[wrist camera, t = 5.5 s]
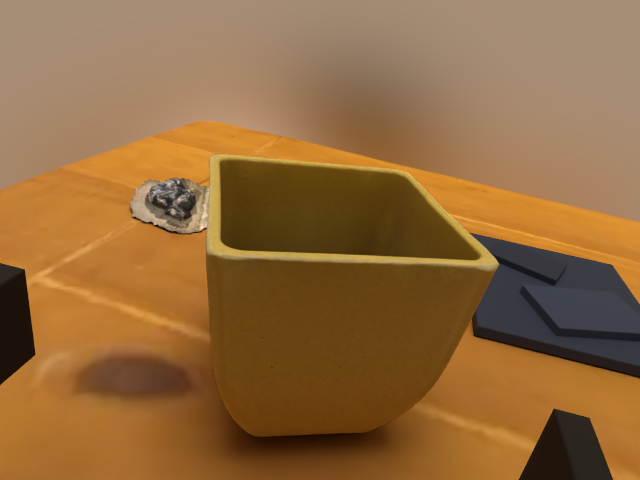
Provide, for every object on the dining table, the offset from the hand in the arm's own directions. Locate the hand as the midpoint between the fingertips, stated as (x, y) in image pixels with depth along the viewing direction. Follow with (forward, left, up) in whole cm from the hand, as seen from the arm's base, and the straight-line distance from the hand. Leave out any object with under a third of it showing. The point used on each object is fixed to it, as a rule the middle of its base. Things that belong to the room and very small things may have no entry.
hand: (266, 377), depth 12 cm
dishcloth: (-14, -21, -7) cm, 26 cm away
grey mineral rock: (+13, -21, -7) cm, 26 cm away
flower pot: (0, -7, -7) cm, 10 cm away
